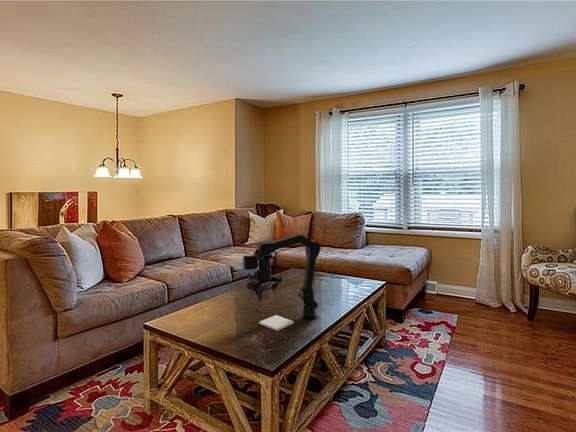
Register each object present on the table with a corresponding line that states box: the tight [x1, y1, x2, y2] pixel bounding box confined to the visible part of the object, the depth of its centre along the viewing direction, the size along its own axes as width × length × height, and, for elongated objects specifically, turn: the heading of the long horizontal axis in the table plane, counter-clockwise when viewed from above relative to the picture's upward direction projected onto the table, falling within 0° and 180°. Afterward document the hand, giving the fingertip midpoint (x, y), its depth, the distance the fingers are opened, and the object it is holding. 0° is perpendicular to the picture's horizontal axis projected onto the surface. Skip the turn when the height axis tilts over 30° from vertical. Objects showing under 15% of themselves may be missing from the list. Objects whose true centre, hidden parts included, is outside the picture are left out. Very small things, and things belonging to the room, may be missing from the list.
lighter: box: [256, 284, 274, 307], centre depth 168 cm, size 8×3×10 cm, turn 105°
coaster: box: [258, 314, 295, 332], centre depth 169 cm, size 12×12×1 cm
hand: (265, 299), depth 168 cm, fingers closed on lighter, 7 cm apart
